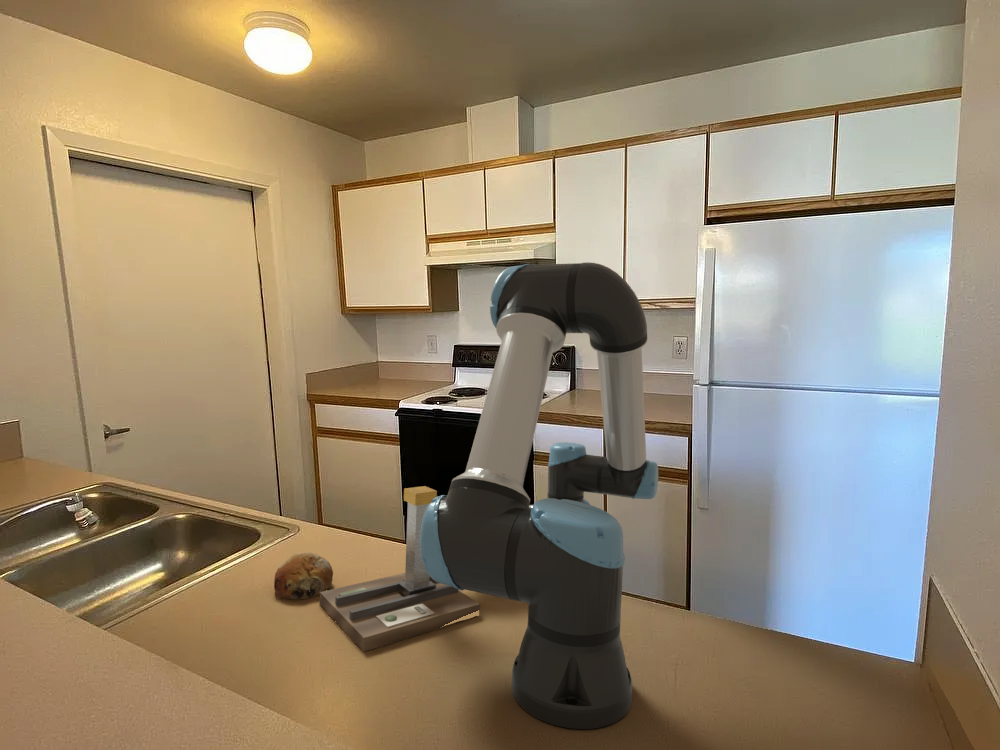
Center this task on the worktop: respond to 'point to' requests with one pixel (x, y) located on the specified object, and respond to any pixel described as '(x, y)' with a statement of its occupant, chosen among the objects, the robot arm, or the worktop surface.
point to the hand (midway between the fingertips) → (424, 546)
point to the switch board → (393, 610)
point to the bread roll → (303, 576)
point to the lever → (416, 541)
